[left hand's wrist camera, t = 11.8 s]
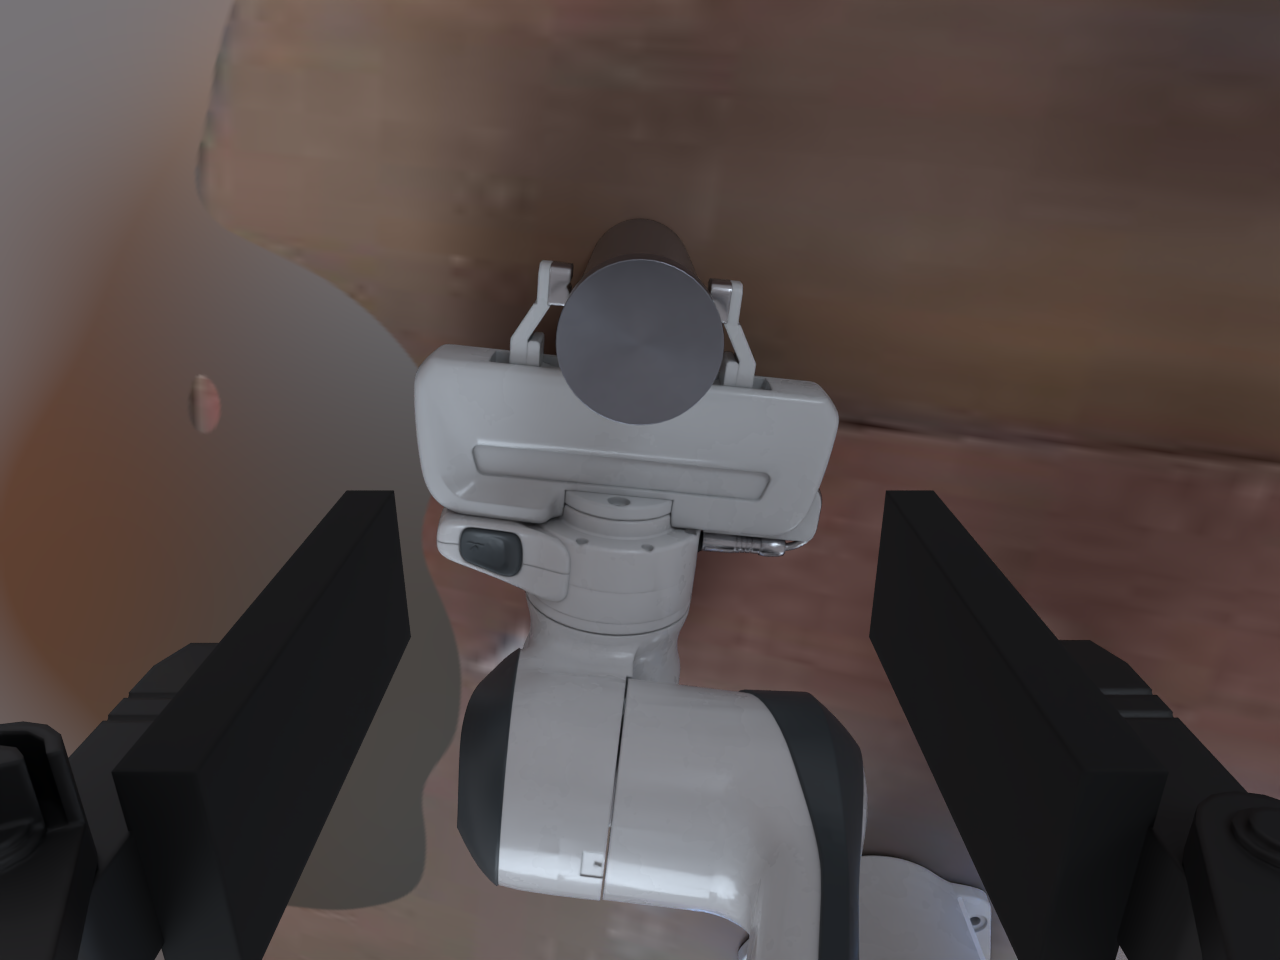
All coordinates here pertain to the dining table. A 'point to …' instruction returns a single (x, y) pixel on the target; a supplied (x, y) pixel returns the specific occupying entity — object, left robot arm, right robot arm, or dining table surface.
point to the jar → (639, 243)
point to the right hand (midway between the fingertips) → (641, 271)
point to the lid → (639, 339)
